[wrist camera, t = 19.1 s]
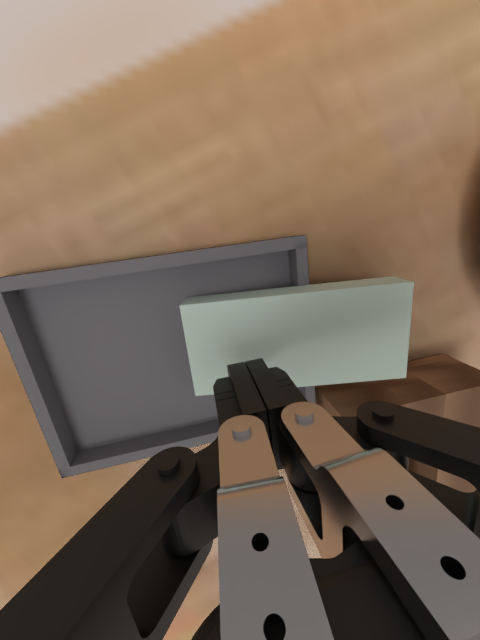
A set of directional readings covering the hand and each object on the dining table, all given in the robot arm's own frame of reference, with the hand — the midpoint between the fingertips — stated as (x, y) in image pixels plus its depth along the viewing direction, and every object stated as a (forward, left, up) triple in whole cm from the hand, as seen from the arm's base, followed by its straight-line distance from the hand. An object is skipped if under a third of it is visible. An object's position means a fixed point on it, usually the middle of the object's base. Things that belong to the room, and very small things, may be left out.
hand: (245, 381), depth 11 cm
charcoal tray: (-3, 0, -5) cm, 6 cm away
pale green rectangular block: (-2, +1, -4) cm, 4 cm away
